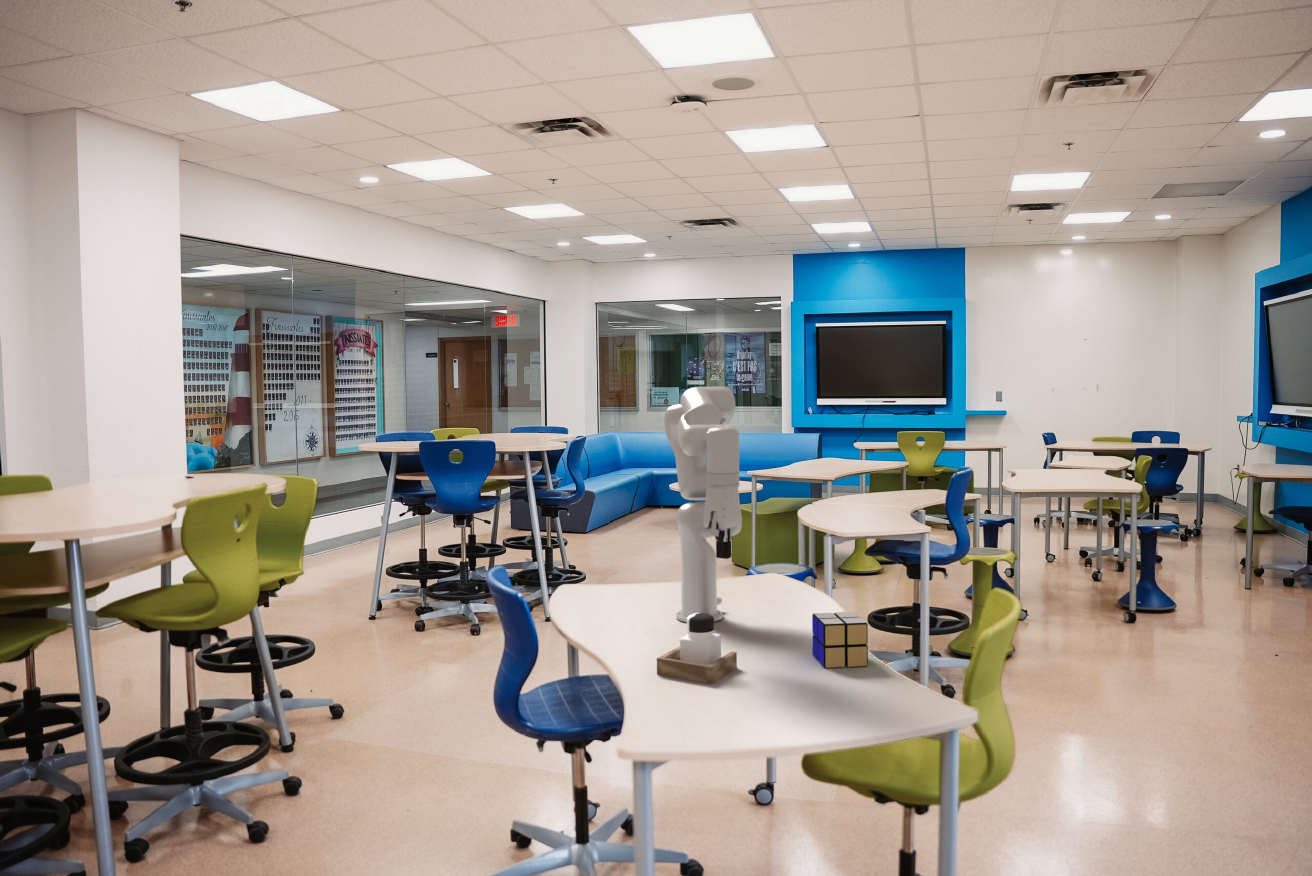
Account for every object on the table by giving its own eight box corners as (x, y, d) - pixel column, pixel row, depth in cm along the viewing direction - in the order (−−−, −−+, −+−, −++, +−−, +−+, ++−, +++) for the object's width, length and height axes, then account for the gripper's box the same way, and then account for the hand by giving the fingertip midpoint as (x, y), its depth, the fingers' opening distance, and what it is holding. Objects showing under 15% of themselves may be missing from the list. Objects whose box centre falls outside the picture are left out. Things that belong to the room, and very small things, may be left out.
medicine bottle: (721, 664, 196) (721, 612, 196) (709, 674, 190) (709, 620, 189) (692, 661, 199) (691, 609, 199) (679, 670, 193) (679, 617, 192)
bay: (684, 658, 201) (684, 643, 201) (736, 667, 194) (736, 652, 194) (656, 673, 191) (656, 658, 190) (711, 683, 184) (710, 667, 183)
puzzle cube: (812, 655, 202) (811, 613, 202) (854, 653, 203) (854, 611, 203) (824, 669, 192) (823, 624, 192) (868, 667, 193) (868, 622, 193)
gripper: (723, 475, 211) (723, 550, 213) (693, 482, 199) (694, 562, 200) (751, 477, 207) (751, 553, 209) (723, 484, 195) (723, 565, 196)
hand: (723, 557), depth 204 cm, fingers closed
